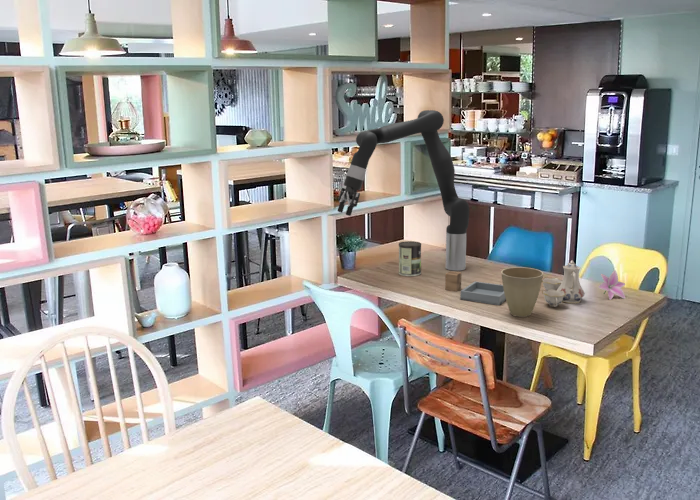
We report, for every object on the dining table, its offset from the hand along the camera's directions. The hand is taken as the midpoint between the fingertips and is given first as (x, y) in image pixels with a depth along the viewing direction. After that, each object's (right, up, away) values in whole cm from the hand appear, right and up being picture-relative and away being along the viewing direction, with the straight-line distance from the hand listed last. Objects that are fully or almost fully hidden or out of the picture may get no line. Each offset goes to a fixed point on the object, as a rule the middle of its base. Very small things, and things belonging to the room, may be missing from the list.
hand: (343, 213), depth 283 cm
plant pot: (+66, -39, -38) cm, 86 cm away
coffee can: (+30, -26, +20) cm, 45 cm away
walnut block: (+46, -32, -6) cm, 56 cm away
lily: (+107, -34, -19) cm, 114 cm away
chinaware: (+86, -35, -22) cm, 96 cm away
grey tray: (+58, -34, -17) cm, 69 cm away
